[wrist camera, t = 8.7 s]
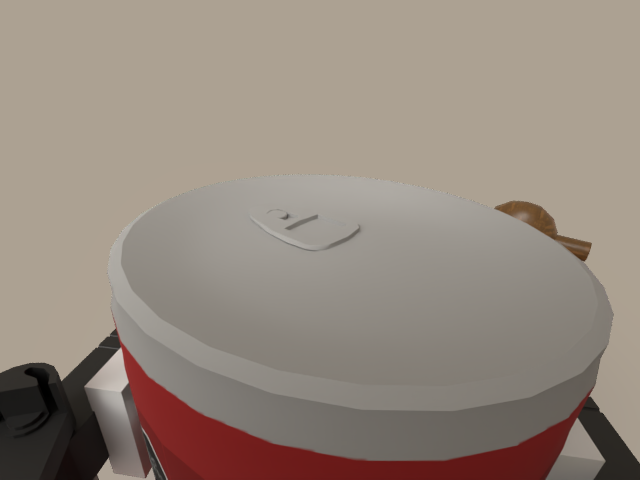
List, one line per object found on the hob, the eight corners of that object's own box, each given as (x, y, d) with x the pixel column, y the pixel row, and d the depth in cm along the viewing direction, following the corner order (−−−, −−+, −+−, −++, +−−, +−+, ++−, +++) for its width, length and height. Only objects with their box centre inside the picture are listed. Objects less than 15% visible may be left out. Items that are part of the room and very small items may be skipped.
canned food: (268, 402, 15) (261, 161, 11) (451, 474, 13) (547, 200, 8) (123, 634, 9) (-58, 270, 4) (441, 872, 6) (895, 634, 2)
